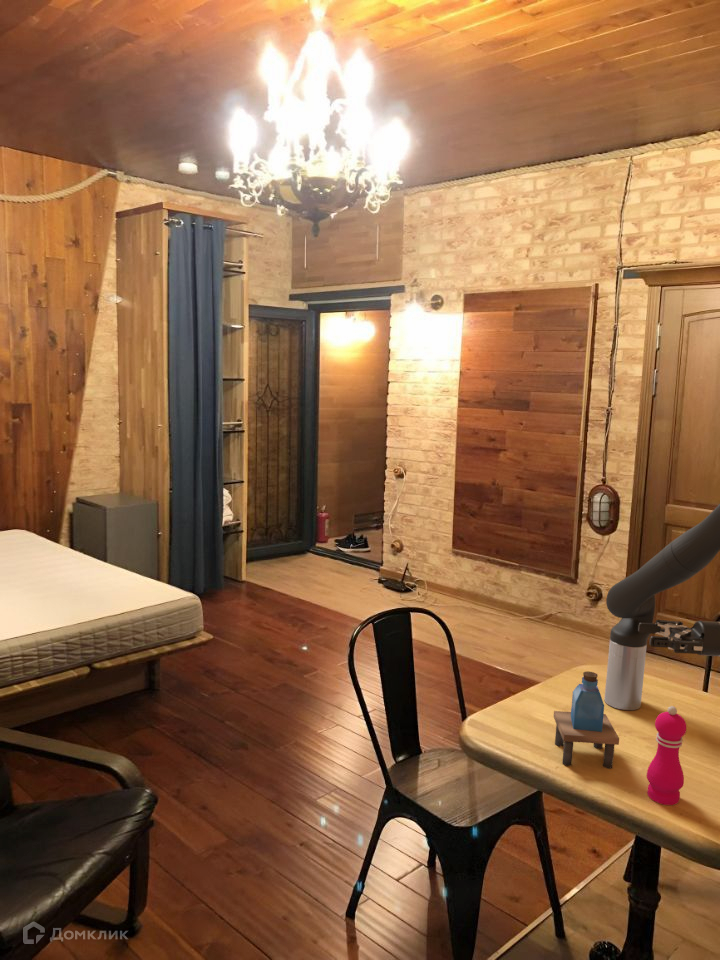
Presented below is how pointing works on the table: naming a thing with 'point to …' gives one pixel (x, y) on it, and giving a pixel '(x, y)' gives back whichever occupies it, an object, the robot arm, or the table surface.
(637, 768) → the table surface
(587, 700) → the perfume bottle
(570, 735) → the brown legged piece
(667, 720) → the pepper mill
